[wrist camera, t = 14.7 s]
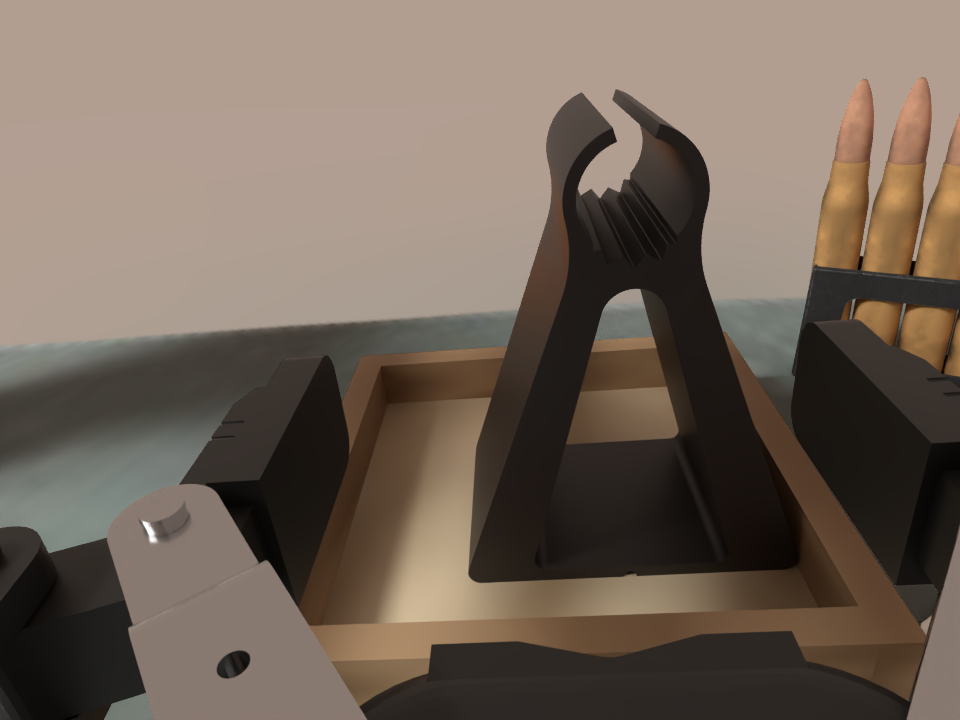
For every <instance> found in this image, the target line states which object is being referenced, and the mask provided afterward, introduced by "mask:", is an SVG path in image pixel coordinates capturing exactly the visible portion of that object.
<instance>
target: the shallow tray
mask: <svg viewBox="0 0 960 720" xmlns="http://www.w3.org/2000/svg"><path fill="white" fill-rule="evenodd" d="M723 334H724V337H725V340H726V343H727V346H728V349H729V352H730V355H731V358H732V361H733V364H734V367H735V370H736V373H737V376H738V379H739V382H740V385H741V388H742V391H743V394H744V397H745V400H746V403H747V406H748V409H749V412H750V415H751V418H752V421H753V424H754V427H755V430H756V433H757V436H758V439H759V441H760V444H761V447H762V450H763V453H764V456H765V459H766V462H767V465H768V468H769V471H770V474H771V477H772V480H773V483H774V486H775V489H776V492H777V495H778V498H779V501H780V504H781V507H782V510H783V513H784V516H785V519H786V522H787V525H788V528H789V531H790V534H791V537H792V540H793V543H794V546H795V549H796V552H797V555H798V560H797V562H796V564H795V565H794V566H792V567H791V568H788V569H785V570H765V571H743V572H720V573H698V574H675V575H653V576H637V574H636V573H635V572H631V571H630V572H626V573H625V574H624V576H623V577H608V578H585V579H562V580H540V581H517V582H495V583H478V582H475V581H473V580H472V579H471V578H470V577H469V575H468V568H469V552H470V536H471V520H472V504H473V487H474V471H475V455H476V446H477V443H478V439H479V436H480V433H481V430H482V427H483V423H484V420H485V417H486V414H487V411H488V407H489V404H490V401H491V398H492V395H493V391H494V388H495V385H496V382H497V379H498V375H499V372H500V369H501V366H502V363H503V359H504V356H505V353H506V350H507V347H508V346H507V347H492V348H477V349H462V350H447V351H432V352H417V353H402V354H387V355H371V356H361V358H360V361H359V363H358V365H357V368H356V370H355V373H354V375H353V377H352V380H351V382H350V385H349V387H348V389H347V392H346V394H345V397H344V399H343V402H342V406H343V410H344V415H345V419H346V424H347V428H348V434H349V446H350V449H349V461H348V466H347V469H346V472H345V475H344V478H343V481H342V484H341V486H340V489H339V492H338V495H337V498H336V501H335V504H334V507H333V510H332V513H331V516H330V518H329V521H328V524H327V527H326V530H325V533H324V536H323V539H322V542H321V545H320V548H319V550H318V553H317V556H316V559H315V562H314V565H313V568H312V571H311V574H310V577H309V580H308V583H307V585H306V588H305V591H304V594H303V597H302V600H301V603H300V606H299V611H300V612H301V614H302V615H303V617H304V619H305V620H306V622H307V623H308V625H309V627H310V628H311V630H312V632H313V633H314V635H315V636H316V638H317V640H318V641H319V643H320V644H321V646H322V648H323V649H324V651H325V653H326V654H327V656H328V657H329V659H330V661H331V662H332V664H333V665H334V667H335V669H336V670H337V672H338V673H339V675H340V677H341V678H342V680H343V682H344V683H345V685H346V686H347V688H348V690H349V691H350V693H351V694H352V696H353V698H354V699H355V701H356V702H357V704H358V706H360V705H362V704H363V703H365V702H366V701H368V700H369V699H371V698H372V697H374V696H375V695H377V694H379V693H381V692H383V691H385V690H387V689H389V688H391V687H393V686H394V685H397V684H399V683H402V682H404V681H407V680H409V679H412V678H414V677H418V676H421V675H424V674H428V670H429V662H430V653H431V644H456V643H482V642H508V641H519V642H525V643H530V644H536V645H541V646H547V647H552V648H557V649H563V650H568V651H574V652H579V653H585V654H590V655H595V656H601V657H618V656H623V655H626V654H630V653H634V652H637V651H641V650H645V649H648V648H652V647H656V646H659V645H663V644H667V643H670V642H674V641H678V640H681V639H685V638H689V637H692V636H696V635H700V634H718V633H744V632H770V631H792V632H793V634H794V636H795V639H796V641H797V643H798V645H799V647H800V649H801V652H802V654H803V656H804V658H805V660H806V661H808V662H813V663H818V664H822V665H825V666H829V667H833V668H836V669H840V670H843V671H846V672H848V673H851V674H854V675H856V676H859V677H862V678H864V679H867V680H869V681H871V682H873V683H875V684H878V685H880V686H882V687H884V688H886V689H888V690H890V691H892V692H894V693H895V694H897V695H899V696H901V697H902V698H904V699H906V700H908V697H909V694H910V690H911V687H912V683H913V680H914V676H915V673H916V669H917V666H918V662H919V659H920V655H921V652H922V648H923V645H924V641H925V638H926V634H925V633H924V631H923V630H922V628H921V627H920V625H919V624H918V622H917V621H916V619H915V618H914V616H913V615H912V613H911V612H910V610H909V609H908V607H907V606H906V604H905V603H904V601H903V600H902V598H901V597H900V595H899V594H898V592H897V590H896V589H895V587H894V586H893V584H892V583H891V581H890V580H889V578H888V577H887V575H886V574H885V572H884V571H883V569H882V568H881V566H880V565H879V563H878V562H877V560H876V559H875V557H874V556H873V554H872V553H871V551H870V550H869V548H868V547H867V545H866V544H865V542H864V541H863V539H862V537H861V536H860V534H859V533H858V531H857V530H856V528H855V527H854V525H853V524H852V522H851V521H850V519H849V518H848V516H847V515H846V513H845V512H844V510H843V509H842V507H841V506H840V504H839V503H838V501H837V500H836V498H835V497H834V495H833V494H832V492H831V491H830V489H829V487H828V486H827V484H826V483H825V481H824V480H823V478H822V477H821V475H820V474H819V472H818V471H817V469H816V468H815V466H814V465H813V463H812V462H811V460H810V459H809V457H808V456H807V454H806V453H805V451H804V450H803V448H802V447H801V445H800V444H799V442H798V441H797V439H796V437H795V436H794V434H793V433H792V431H791V430H790V428H789V427H788V425H787V424H786V422H785V421H784V419H783V418H782V416H781V415H780V413H779V412H778V410H777V409H776V407H775V406H774V404H773V403H772V401H771V400H770V398H769V397H768V395H767V394H766V392H765V391H764V389H763V388H762V386H761V384H760V383H759V381H758V380H757V378H756V377H755V375H754V374H753V372H752V371H751V369H750V368H749V366H748V365H747V363H746V362H745V360H744V359H743V357H742V356H741V354H740V353H739V351H738V350H737V348H736V347H735V345H734V344H733V342H732V341H731V339H730V338H729V336H728V334H727V333H726V332H723ZM678 431H679V430H678V426H677V422H676V418H675V415H674V411H673V407H672V404H671V400H670V396H669V393H668V389H667V385H666V382H665V378H664V374H663V371H662V367H661V363H660V360H659V356H658V352H657V349H656V345H655V341H654V337H643V338H628V339H613V340H598V341H594V343H593V347H592V350H591V354H590V358H589V361H588V365H587V369H586V372H585V376H584V380H583V383H582V387H581V391H580V394H579V398H578V402H577V405H576V409H575V413H574V416H573V420H572V424H571V427H570V431H569V435H568V438H567V442H566V444H582V443H599V442H616V441H633V440H651V439H668V438H673V437H675V436H676V435H677V434H678Z"/></svg>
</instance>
